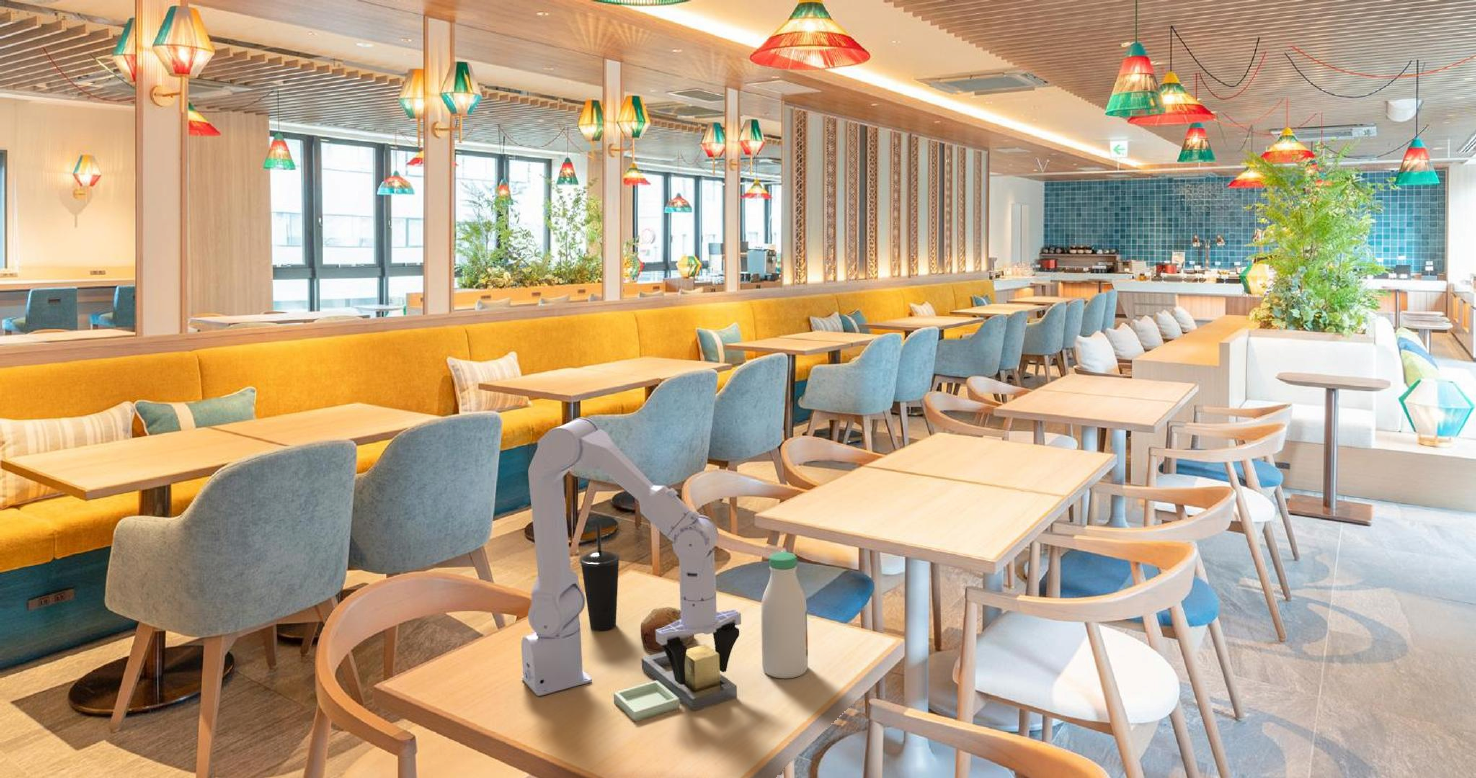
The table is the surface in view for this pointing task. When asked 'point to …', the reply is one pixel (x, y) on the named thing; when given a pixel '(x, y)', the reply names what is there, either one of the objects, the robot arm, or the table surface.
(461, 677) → the table surface
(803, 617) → the milk bottle
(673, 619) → the bread roll
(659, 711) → the tray
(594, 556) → the drinking cup
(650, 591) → the table surface
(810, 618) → the table surface
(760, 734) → the table surface
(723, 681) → the grey flat frame
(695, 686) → the wood grain cuboid
